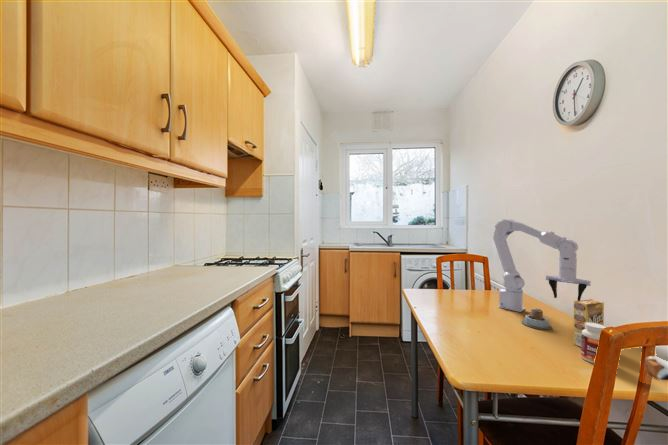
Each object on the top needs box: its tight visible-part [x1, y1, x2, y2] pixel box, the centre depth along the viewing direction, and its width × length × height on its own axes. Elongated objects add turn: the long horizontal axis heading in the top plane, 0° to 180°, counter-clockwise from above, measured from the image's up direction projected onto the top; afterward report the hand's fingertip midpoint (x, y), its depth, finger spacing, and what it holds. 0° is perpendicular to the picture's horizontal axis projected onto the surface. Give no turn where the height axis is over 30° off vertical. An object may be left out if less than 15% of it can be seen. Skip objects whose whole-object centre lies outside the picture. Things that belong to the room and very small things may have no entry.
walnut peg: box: [530, 307, 544, 321], centre depth 112 cm, size 4×4×6 cm
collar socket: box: [521, 314, 553, 331], centre depth 111 cm, size 10×10×3 cm
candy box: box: [573, 298, 605, 348], centre depth 94 cm, size 9×4×15 cm, turn 107°
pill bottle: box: [580, 322, 607, 364], centre depth 83 cm, size 6×6×11 cm
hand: (566, 299), depth 117 cm, fingers open, 7 cm apart
